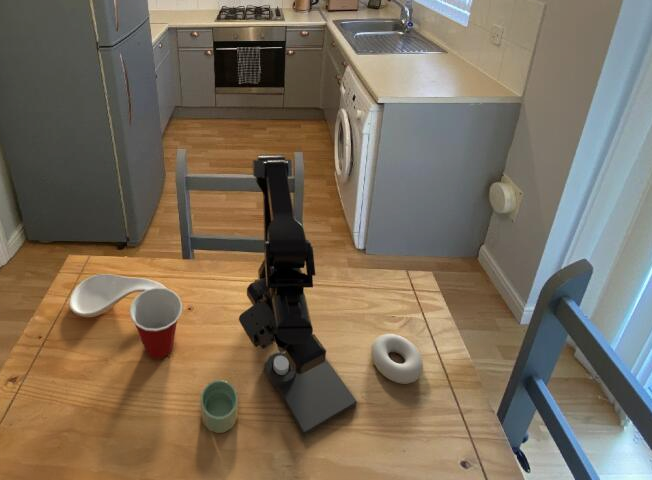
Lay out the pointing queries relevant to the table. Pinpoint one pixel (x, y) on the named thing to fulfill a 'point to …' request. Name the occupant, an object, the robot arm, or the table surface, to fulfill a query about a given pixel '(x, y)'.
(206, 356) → the table surface
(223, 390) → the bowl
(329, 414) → the scale
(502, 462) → the table surface
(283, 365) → the button
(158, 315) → the plastic cup
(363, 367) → the table surface
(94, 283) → the spoon rest
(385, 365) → the donut
